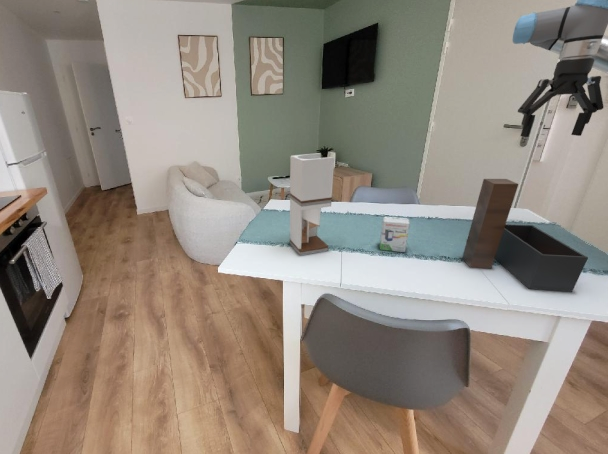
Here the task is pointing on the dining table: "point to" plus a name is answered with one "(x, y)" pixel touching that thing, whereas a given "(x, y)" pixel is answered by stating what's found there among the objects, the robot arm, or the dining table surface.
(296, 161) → the white coffee grinder
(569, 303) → the dining table surface
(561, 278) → the trash bin
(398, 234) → the ink box
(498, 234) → the post
